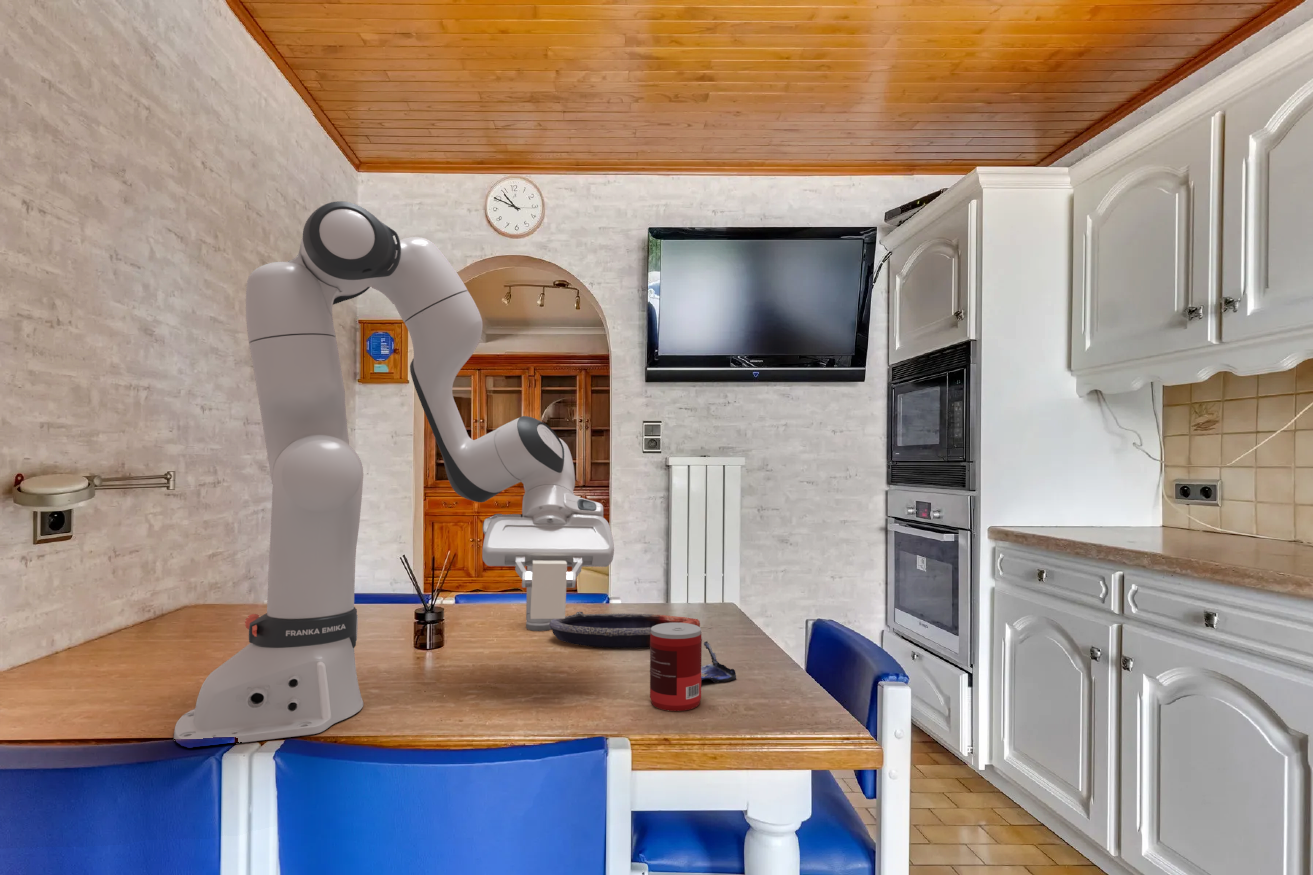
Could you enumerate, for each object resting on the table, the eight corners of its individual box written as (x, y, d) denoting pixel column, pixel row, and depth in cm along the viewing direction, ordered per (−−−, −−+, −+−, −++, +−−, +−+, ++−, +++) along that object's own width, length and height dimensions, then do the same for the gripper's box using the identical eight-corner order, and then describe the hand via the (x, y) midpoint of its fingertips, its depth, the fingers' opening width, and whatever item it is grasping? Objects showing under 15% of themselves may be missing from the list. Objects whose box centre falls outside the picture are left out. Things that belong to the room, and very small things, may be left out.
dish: (556, 631, 145) (556, 608, 145) (698, 634, 144) (698, 610, 144) (542, 651, 129) (542, 624, 130) (701, 653, 128) (701, 627, 129)
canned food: (702, 694, 104) (702, 622, 104) (700, 713, 96) (700, 635, 96) (652, 692, 105) (653, 621, 105) (647, 710, 97) (647, 633, 97)
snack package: (729, 667, 120) (664, 665, 120) (731, 633, 120) (665, 631, 119) (738, 701, 108) (666, 699, 108) (740, 663, 108) (667, 661, 107)
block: (565, 618, 99) (567, 563, 100) (530, 618, 98) (532, 563, 99) (563, 613, 103) (565, 560, 103) (530, 613, 102) (532, 560, 102)
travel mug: (519, 630, 145) (521, 537, 146) (535, 623, 151) (536, 534, 152) (545, 632, 143) (546, 538, 144) (559, 626, 149) (561, 535, 150)
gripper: (484, 500, 106) (476, 571, 96) (612, 504, 110) (618, 572, 100) (484, 527, 110) (477, 597, 100) (607, 529, 114) (613, 597, 104)
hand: (548, 585), depth 100 cm, fingers closed on block, 5 cm apart
